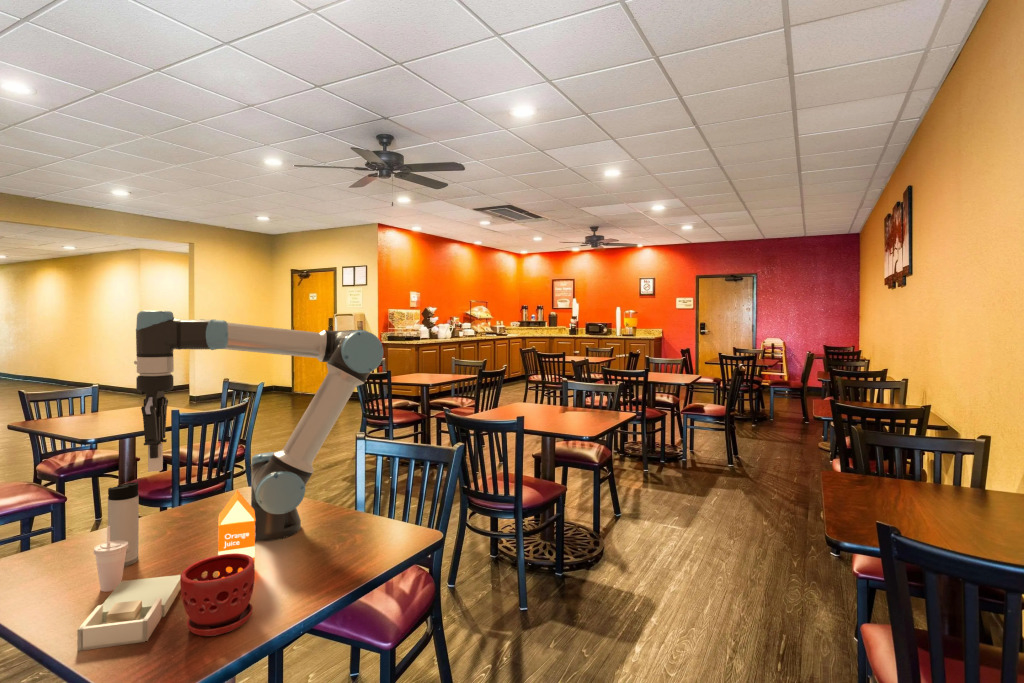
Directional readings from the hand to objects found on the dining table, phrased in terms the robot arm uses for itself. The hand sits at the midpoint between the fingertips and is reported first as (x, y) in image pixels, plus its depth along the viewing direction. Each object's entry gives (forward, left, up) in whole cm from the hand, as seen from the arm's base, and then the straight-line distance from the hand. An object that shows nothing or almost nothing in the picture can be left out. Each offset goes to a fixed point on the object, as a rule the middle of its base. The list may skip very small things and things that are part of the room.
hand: (155, 470), depth 132 cm
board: (-3, +18, -24) cm, 31 cm away
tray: (-3, +30, -24) cm, 39 cm away
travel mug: (+8, -6, -24) cm, 26 cm away
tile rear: (-3, +29, -22) cm, 36 cm away
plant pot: (-20, +31, -25) cm, 44 cm away
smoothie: (+6, +8, -24) cm, 27 cm away
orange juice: (-20, +10, -24) cm, 33 cm away
